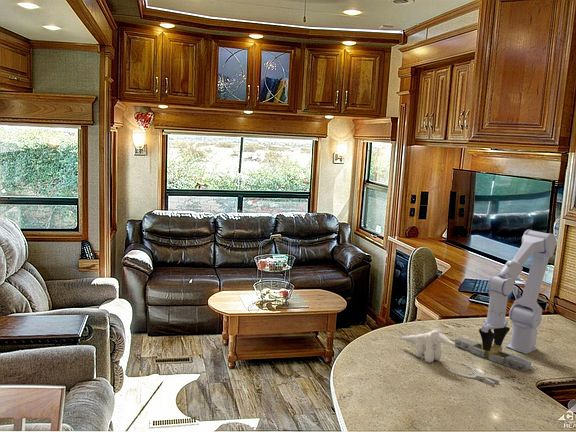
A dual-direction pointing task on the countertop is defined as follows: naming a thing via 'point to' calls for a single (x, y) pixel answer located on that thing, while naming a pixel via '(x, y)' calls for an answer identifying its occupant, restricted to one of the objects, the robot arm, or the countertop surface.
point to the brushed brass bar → (493, 350)
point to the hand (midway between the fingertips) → (492, 348)
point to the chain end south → (470, 346)
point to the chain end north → (511, 361)
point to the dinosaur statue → (428, 344)
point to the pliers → (478, 376)
